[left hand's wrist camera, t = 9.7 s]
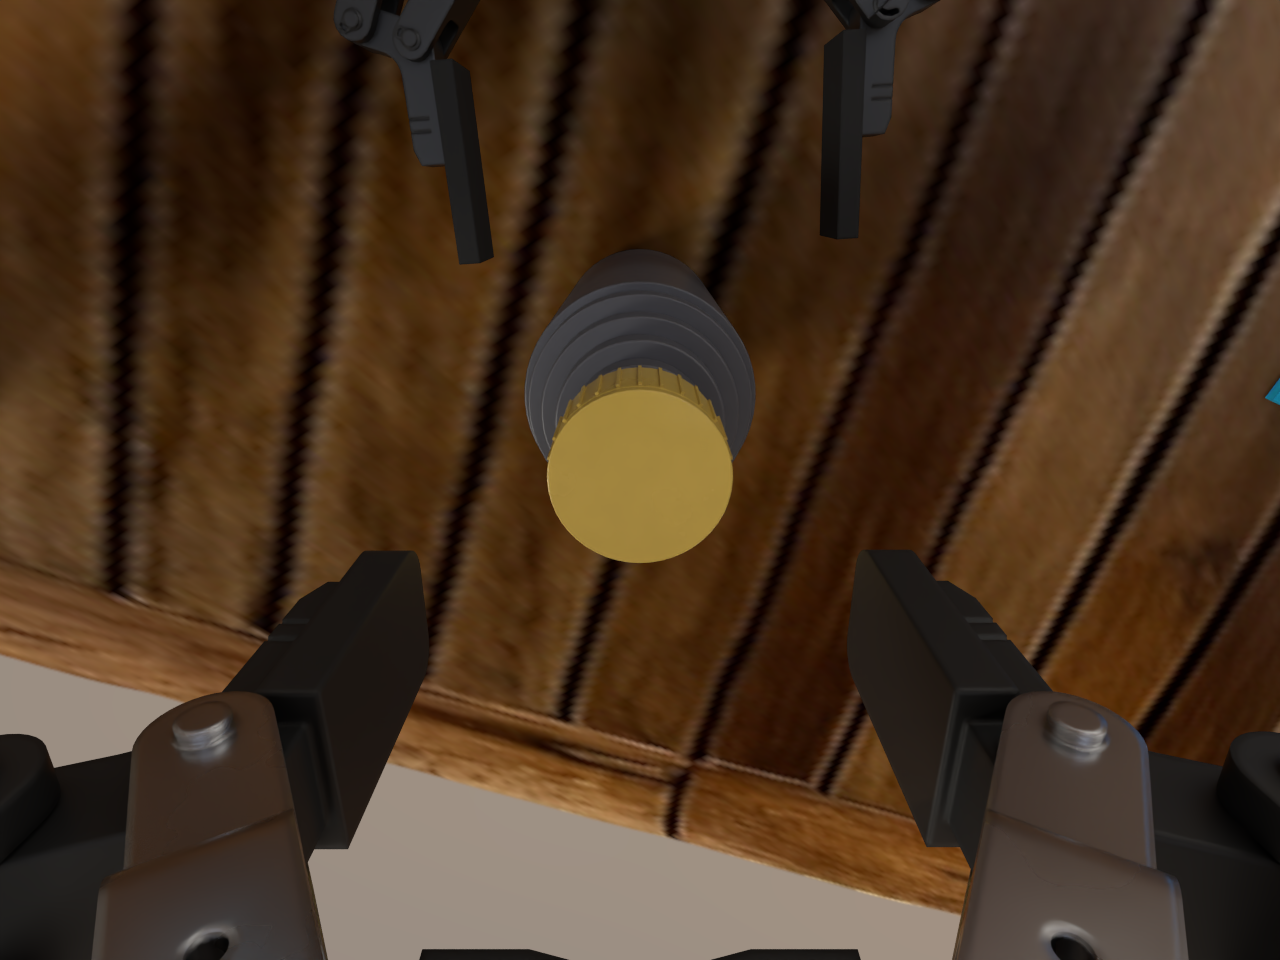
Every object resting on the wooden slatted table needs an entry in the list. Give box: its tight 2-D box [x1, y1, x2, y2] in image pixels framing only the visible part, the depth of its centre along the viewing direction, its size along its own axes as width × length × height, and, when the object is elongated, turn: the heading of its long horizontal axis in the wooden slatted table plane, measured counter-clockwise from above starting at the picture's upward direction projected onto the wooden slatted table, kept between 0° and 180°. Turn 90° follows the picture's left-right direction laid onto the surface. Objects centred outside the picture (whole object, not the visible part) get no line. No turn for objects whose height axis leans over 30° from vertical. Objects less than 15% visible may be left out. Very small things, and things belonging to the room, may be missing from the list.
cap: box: [547, 365, 733, 563], centre depth 18 cm, size 4×4×2 cm
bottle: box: [525, 249, 755, 462], centre depth 26 cm, size 7×7×20 cm
